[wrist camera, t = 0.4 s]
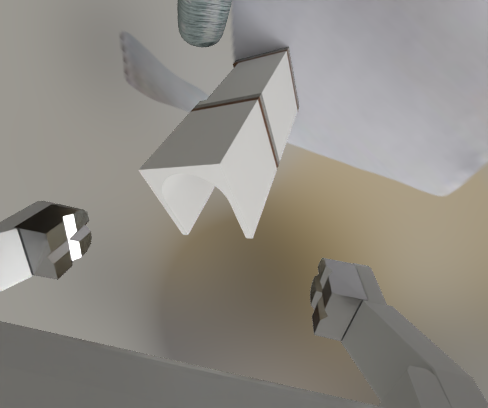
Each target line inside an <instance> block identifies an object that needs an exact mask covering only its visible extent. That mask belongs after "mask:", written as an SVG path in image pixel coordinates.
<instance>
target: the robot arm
mask: <svg viewBox="0 0 488 408" xmlns="http://www.w3.org/2000/svg"><path fill="white" fill-rule="evenodd" d="M87 222H89V218H88V213H87V212H86V211H85V210H83V209H78V208H74V207H70V206H65V205H61V204H55V203H51V202H46V201H37V202H35V203H33V204H32V205H30V206H28V207H26V208H25V209H23V210H21V211H19V212H17V213H16V214H14V215H12V216H10V217H8V218H7V219H5V220H3V221H1V222H0V291H2V290H4V289H7V288H8V287H11V286H13V285H15V284H17V283H19V282H21V281H23V280H25V279H27V278H30V277H32V275H36V276H41V277H46V278H52V279H57V280H58V279H59V278H60V277H61V276H62V275H63V274H64V273H65V272H66V271H67V270H68V269H69V268H71V267H72V263H73V260H75V259H77V258H80V257H82V256H83V255H84V254H85V253H86V252H87V250H88V248H89V246H90V244H91V239H92V236H91V231H90V230H89V228H88V227H87V226H86V224H87ZM318 271H319V274H318V275H317V276H315V277H314V279H313V282H312V286H311V291H310V302H311V306H312V307H313V308H314V313H313V315H312V321H313V329H314V335H318V336H322V337H326V338H330V339H334V340H338V341H342V342H341V343H342V344H343V346H344V347H345V349H346V350H347V352H348V353H349V355H350V356H351V358H352V359H353V361H354V362H355V364H356V365H357V367H358V368H359V370H360V371H361V373H362V374H363V376H364V377H365V379H366V380H367V382H368V383H369V385H370V386H371V388H372V389H373V391H374V392H375V394H376V395H377V397H378V398H379V400H380V401H381V403H380V405H379V406H376V405H371V404H367V403H362V402H358V401H353V400H349V399H345V398H340V397H336V396H331V395H327V394H322V393H318V392H314V391H309V390H305V389H300V388H296V387H291V386H287V385H283V384H278V383H273V382H269V381H265V380H259V379H255V378H251V377H246V376H242V375H238V374H233V373H229V372H224V371H220V370H215V369H211V368H206V367H202V366H197V365H193V364H189V363H184V362H179V361H175V360H171V359H166V358H162V357H157V356H153V355H148V354H144V353H140V352H135V351H131V350H126V349H121V348H117V347H113V346H108V345H104V344H100V343H95V342H91V341H86V340H82V339H77V338H73V337H68V336H64V335H59V334H55V333H51V332H46V331H42V330H38V329H33V328H29V327H24V326H20V325H15V324H11V323H6V322H2V321H0V408H488V403H487V401H486V399H485V398H484V396H483V394H482V393H481V391H480V389H479V388H478V386H477V384H476V383H475V381H474V379H473V378H472V377H471V376H470V375H469V374H468V373H467V372H465V371H464V370H463V369H462V368H461V367H460V366H459V365H458V364H456V363H455V362H454V361H453V360H452V359H451V358H450V357H448V355H446V354H445V353H444V352H443V351H442V350H441V349H440V348H439V347H437V346H436V345H435V344H434V343H433V342H432V341H431V340H430V339H428V338H427V337H426V336H425V335H424V334H423V333H422V332H421V331H419V330H418V329H417V328H416V327H415V326H414V325H413V324H412V323H410V322H409V321H408V320H407V319H406V318H405V317H404V316H403V315H401V314H400V313H399V312H398V311H397V310H396V309H395V308H394V307H392V306H389V305H387V304H386V302H385V299H384V297H383V295H382V292H381V290H380V288H379V285H378V283H377V281H376V278H375V276H374V274H373V271H372V269H371V268H370V267H369V266H366V265H360V264H354V263H353V264H351V263H346V262H341V261H336V260H330V259H326V258H322V259H321V261H320V263H319V265H318Z"/></svg>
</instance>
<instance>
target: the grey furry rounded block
mask: <svg viewBox="0 0 488 408" xmlns="http://www.w3.org/2000/svg"><path fill="white" fill-rule="evenodd" d="M231 2H232V0H178V26H179V32H180V34H181V37H182V38H183V39H184V40H185V41H186V42H187V43H189V44H190V45H193V46H197V47H209V46H212V45H214V44H216V43H217V42H218V41H219V40H220V38H221V37H222V35H223V31H224V29H225V26H226V22H227V19H228V15H229V10H230V6H231Z"/></svg>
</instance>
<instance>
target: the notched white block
mask: <svg viewBox="0 0 488 408" xmlns="http://www.w3.org/2000/svg"><path fill="white" fill-rule="evenodd" d="M233 66H234V69H233V70H232V71H231V72H230V73H229V75H228V76H227V77H226V78H225V79H224V80H223V81H222V82H221V84H220V85H219V86H218V87H217V88H216V90H215V91H214V92H213V93H212V94H211V95H210V96H209V97H208V99H207V100H204V101H200V102H199V103H198V104H197V105H196V106H195V107H194V108H193V110H192V111H191V112H190V113H189V114H188V115H187V116H186V117H185V119H184V120H183V121H182V122H181V123H180V124H179V125H178V126H177V127H176V129H175V130H174V131H173V132H172V133H171V134H170V135H169V137H168V138H167V139H166V140H165V141H164V142H163V143H162V144H161V145H160V147H159V148H158V149H157V150H156V151H155V152H154V153H153V154H152V155H151V157H150V158H149V159H148V160H147V161H146V162H145V163H144V164H143V165H142V167H141V168H140V169H139V172H140V173H141V175H142V176H143V177H144V179H145V180H146V182H147V183H148V185H149V186H150V188H151V189H152V190H153V192H154V193H155V195H156V196H157V198H158V199H159V201H160V202H161V204H162V205H163V206H164V208H165V209H166V211H167V212H168V214H169V215H170V216H171V218H172V219H173V221H174V222H175V224H176V225H177V227H178V228H179V230H180V231H181V233H182V234H183V235H188V234H189V232H190V230H191V229H192V227H193V225H194V223H195V221H196V219H197V218H198V216H199V214H200V213H201V211H202V209H203V207H204V205H205V204H206V202H207V200H208V198H209V196H210V195H211V193H212V191H213V189H214V187H215V186H216V187H217V188H218V189H219V190H221V191H222V192H223V193H224V194H225V196H226V197H227V199H228V200H229V202H230V204H231V206H232V209H233V211H234V213H235V215H236V217H237V219H238V221H239V224H240V226H241V228H242V230H243V232H244V235H245V237H246V238H253V236H254V233H255V230H256V227H257V224H258V222H259V219H260V216H261V213H262V210H263V208H264V205H265V202H266V199H267V196H268V193H269V190H270V188H271V185H272V182H273V179H274V176H275V174H276V171H277V168H278V165H279V162H280V160H281V157H282V154H283V151H284V148H285V146H286V143H287V140H288V137H289V134H290V131H291V129H292V126H293V123H294V120H295V117H296V114H297V112H298V109H299V102H298V96H297V91H296V85H295V79H294V74H293V68H292V62H291V57H290V51H289V47H287V48H284V49H280V50H276V51H272V52H268V53H264V54H260V55H256V56H252V57H248V58H244V59H241V60H237V61H235V63H234V64H233Z"/></svg>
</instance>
